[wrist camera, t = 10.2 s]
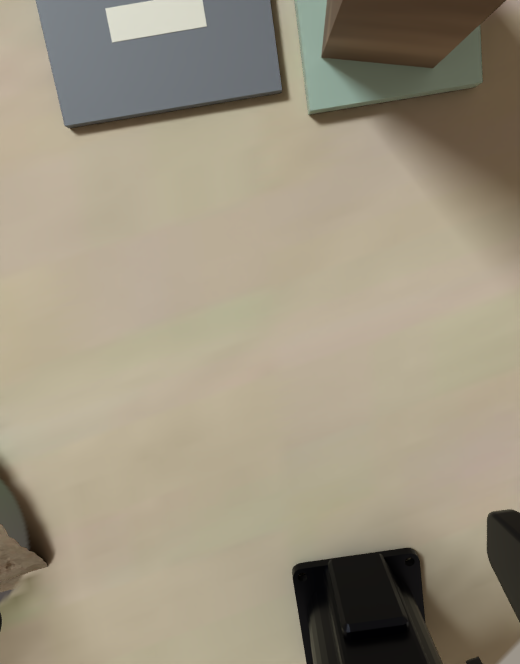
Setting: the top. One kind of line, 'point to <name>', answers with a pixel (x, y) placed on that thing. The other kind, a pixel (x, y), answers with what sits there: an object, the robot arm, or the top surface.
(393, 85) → the sage board
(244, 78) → the card
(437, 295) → the top surface
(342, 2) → the walnut block
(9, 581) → the clay tablet
